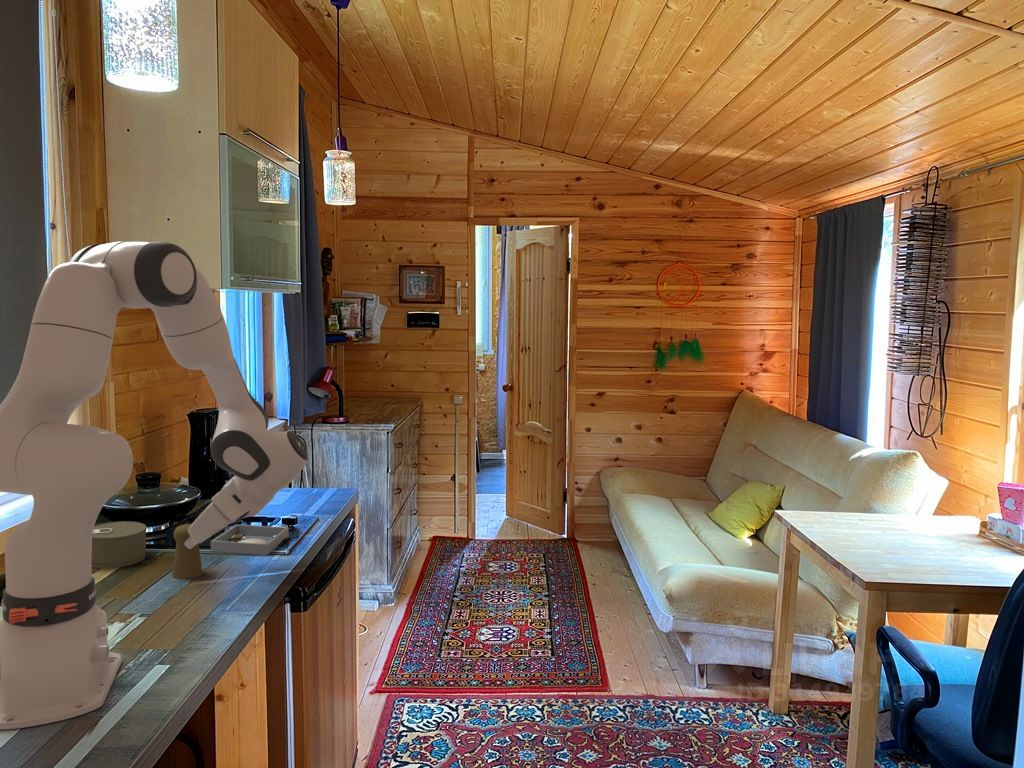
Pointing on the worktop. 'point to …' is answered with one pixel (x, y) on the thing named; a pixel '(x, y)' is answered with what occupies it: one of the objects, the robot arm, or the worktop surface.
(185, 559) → the cork
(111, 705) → the worktop surface
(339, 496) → the worktop surface
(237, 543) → the tray
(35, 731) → the worktop surface
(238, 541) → the resting spot
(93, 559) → the can
